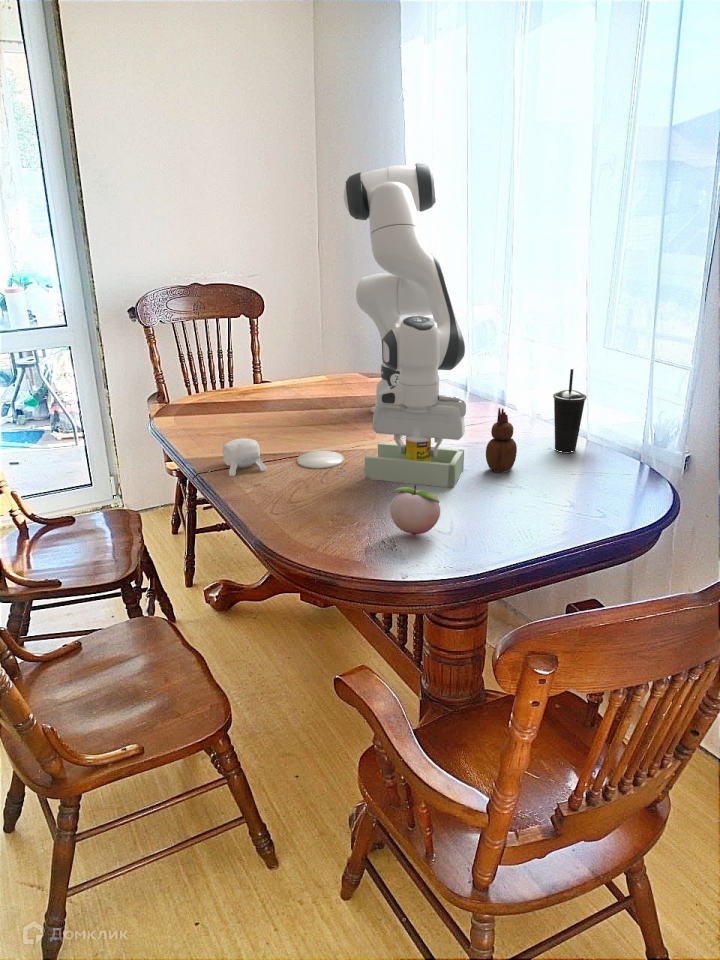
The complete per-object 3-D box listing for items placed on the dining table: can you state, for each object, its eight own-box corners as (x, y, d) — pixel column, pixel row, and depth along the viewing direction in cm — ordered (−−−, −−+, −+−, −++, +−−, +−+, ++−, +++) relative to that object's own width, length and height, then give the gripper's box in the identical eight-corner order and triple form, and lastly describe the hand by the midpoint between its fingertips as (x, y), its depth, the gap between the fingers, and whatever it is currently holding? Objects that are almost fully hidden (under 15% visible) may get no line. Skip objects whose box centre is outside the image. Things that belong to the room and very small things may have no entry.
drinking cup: (583, 447, 180) (591, 367, 173) (578, 456, 174) (586, 373, 167) (552, 443, 183) (558, 364, 176) (546, 453, 177) (552, 371, 170)
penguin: (223, 478, 174) (235, 475, 160) (217, 443, 174) (229, 436, 160) (258, 472, 177) (273, 469, 163) (252, 438, 177) (267, 431, 163)
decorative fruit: (383, 541, 133) (382, 491, 130) (397, 524, 140) (396, 475, 137) (432, 549, 130) (433, 497, 127) (444, 530, 137) (445, 480, 134)
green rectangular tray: (379, 462, 173) (379, 442, 171) (463, 470, 167) (464, 449, 165) (364, 478, 163) (364, 457, 161) (453, 487, 157) (454, 465, 155)
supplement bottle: (415, 476, 161) (416, 431, 157) (400, 469, 165) (400, 425, 162) (435, 470, 164) (436, 427, 160) (420, 463, 168) (420, 421, 164)
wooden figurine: (496, 476, 163) (499, 411, 157) (480, 468, 168) (483, 405, 162) (520, 471, 166) (524, 407, 160) (504, 463, 170) (507, 401, 165)
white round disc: (307, 451, 182) (307, 449, 181) (349, 455, 178) (349, 453, 178) (290, 466, 172) (289, 463, 172) (334, 470, 169) (333, 468, 168)
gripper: (469, 393, 158) (467, 454, 163) (378, 387, 164) (379, 446, 169) (463, 401, 152) (461, 463, 157) (369, 394, 158) (370, 455, 164)
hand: (418, 454), depth 163 cm, fingers closed on supplement bottle, 5 cm apart
